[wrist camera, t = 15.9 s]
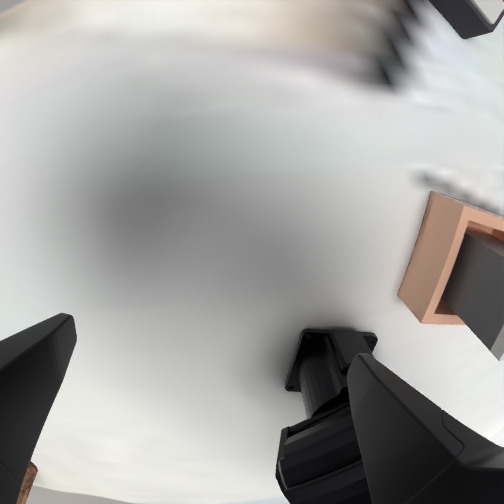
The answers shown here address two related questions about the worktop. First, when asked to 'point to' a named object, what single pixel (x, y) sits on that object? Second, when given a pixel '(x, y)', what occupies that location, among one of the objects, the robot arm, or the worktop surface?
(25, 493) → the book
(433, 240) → the copper square tube
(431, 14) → the worktop surface
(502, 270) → the grey square block
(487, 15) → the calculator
